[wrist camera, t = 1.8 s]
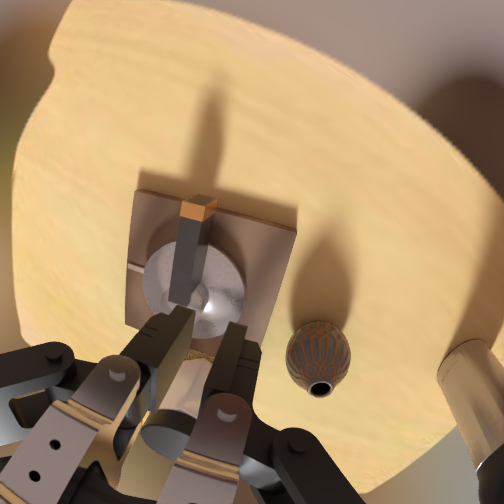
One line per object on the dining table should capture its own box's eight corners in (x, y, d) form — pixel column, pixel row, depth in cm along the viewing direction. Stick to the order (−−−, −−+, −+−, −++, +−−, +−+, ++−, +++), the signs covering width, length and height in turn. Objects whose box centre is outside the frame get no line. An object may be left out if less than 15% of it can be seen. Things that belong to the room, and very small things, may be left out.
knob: (234, 343, 32) (223, 374, 26) (145, 313, 32) (123, 338, 27) (269, 209, 26) (264, 222, 21) (161, 182, 27) (132, 189, 22)
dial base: (296, 229, 28) (296, 233, 27) (255, 359, 34) (253, 368, 32) (141, 189, 29) (133, 191, 28) (130, 318, 35) (124, 324, 33)
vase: (282, 316, 32) (277, 367, 23) (344, 307, 30) (357, 356, 22) (291, 362, 33) (287, 415, 25) (346, 355, 32) (356, 407, 24)
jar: (161, 373, 37) (126, 433, 26) (191, 345, 35) (155, 413, 23) (210, 408, 38) (187, 471, 27) (244, 385, 36) (227, 457, 24)
